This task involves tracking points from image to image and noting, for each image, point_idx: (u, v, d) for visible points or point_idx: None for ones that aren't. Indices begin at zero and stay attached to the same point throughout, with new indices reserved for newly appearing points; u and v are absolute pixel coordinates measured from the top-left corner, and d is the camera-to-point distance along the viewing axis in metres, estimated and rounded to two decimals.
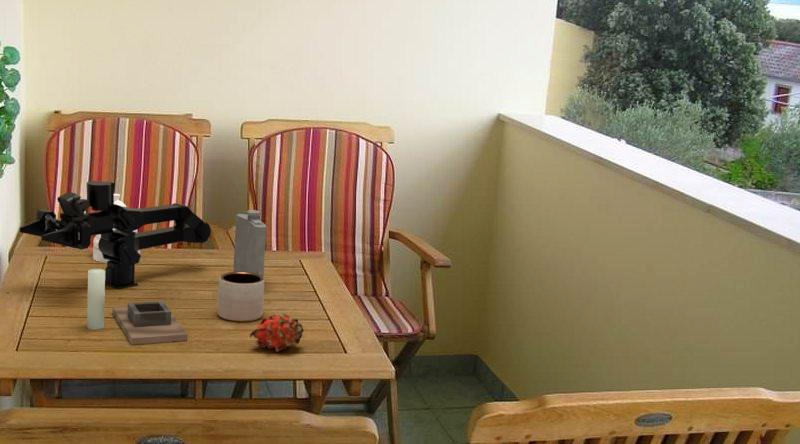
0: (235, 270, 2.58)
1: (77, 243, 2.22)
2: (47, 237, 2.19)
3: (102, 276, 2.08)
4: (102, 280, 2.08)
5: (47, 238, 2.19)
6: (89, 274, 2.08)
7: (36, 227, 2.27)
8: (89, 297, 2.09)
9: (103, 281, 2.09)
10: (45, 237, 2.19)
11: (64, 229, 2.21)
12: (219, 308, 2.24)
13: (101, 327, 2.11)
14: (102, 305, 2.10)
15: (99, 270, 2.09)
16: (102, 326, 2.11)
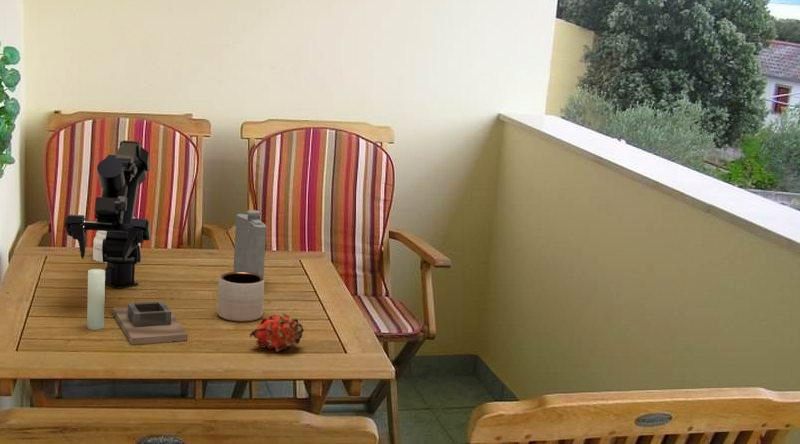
0: (235, 270, 2.58)
1: (143, 238, 2.23)
2: (126, 255, 2.18)
3: (102, 276, 2.08)
4: (102, 280, 2.08)
5: (126, 256, 2.18)
6: (89, 274, 2.08)
7: (84, 241, 2.18)
8: (89, 297, 2.09)
9: (103, 281, 2.09)
10: (125, 257, 2.17)
11: (131, 237, 2.19)
12: (219, 308, 2.24)
13: (101, 327, 2.11)
14: (102, 305, 2.10)
15: (99, 270, 2.09)
16: (102, 326, 2.11)
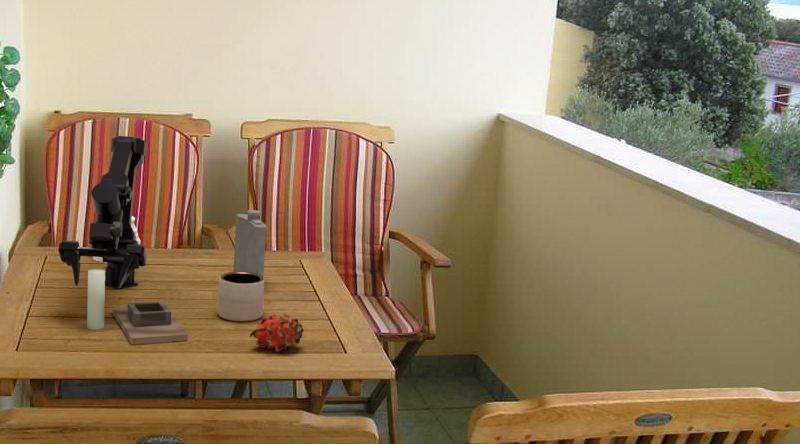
0: (235, 270, 2.58)
1: (138, 264, 2.17)
2: (121, 282, 2.12)
3: (102, 276, 2.08)
4: (102, 280, 2.08)
5: (121, 283, 2.13)
6: (89, 274, 2.08)
7: (78, 268, 2.13)
8: (89, 297, 2.09)
9: (103, 281, 2.09)
10: (120, 284, 2.12)
11: (126, 264, 2.13)
12: (219, 308, 2.24)
13: (101, 327, 2.11)
14: (102, 305, 2.10)
15: (99, 270, 2.09)
16: (102, 326, 2.11)
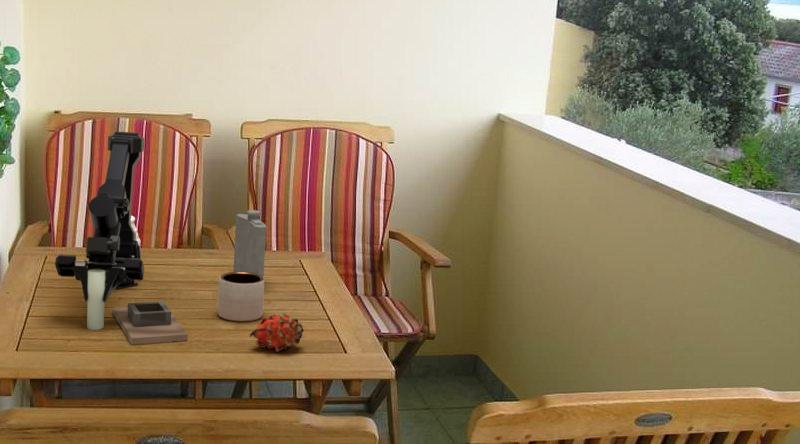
0: (235, 270, 2.58)
1: None
2: (107, 296, 2.10)
3: (102, 276, 2.08)
4: (102, 280, 2.08)
5: (107, 297, 2.10)
6: (89, 274, 2.08)
7: (87, 282, 2.11)
8: (89, 297, 2.09)
9: (103, 281, 2.09)
10: (105, 298, 2.09)
11: (111, 278, 2.11)
12: (219, 308, 2.24)
13: (101, 327, 2.11)
14: (102, 305, 2.10)
15: (99, 270, 2.09)
16: (102, 326, 2.11)
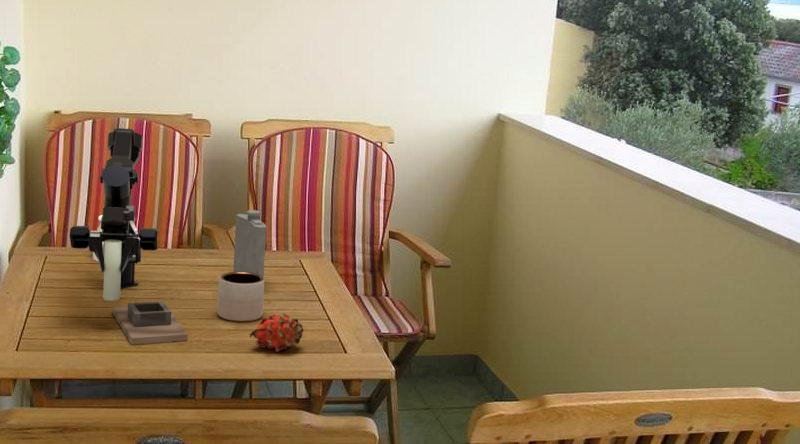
0: (235, 270, 2.58)
1: None
2: (124, 267, 2.09)
3: (119, 247, 2.07)
4: (119, 250, 2.08)
5: (124, 267, 2.09)
6: (106, 244, 2.07)
7: None
8: (106, 268, 2.08)
9: (120, 251, 2.08)
10: (122, 268, 2.09)
11: (128, 248, 2.10)
12: (219, 308, 2.24)
13: (118, 298, 2.10)
14: (119, 275, 2.09)
15: (115, 240, 2.09)
16: (119, 297, 2.10)
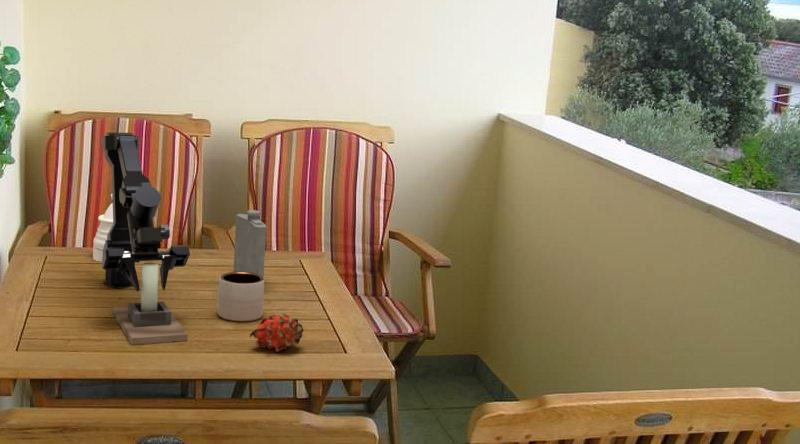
0: (235, 270, 2.58)
1: None
2: (165, 285, 2.14)
3: (157, 269, 2.12)
4: (157, 272, 2.12)
5: None
6: (145, 268, 2.10)
7: None
8: (145, 291, 2.11)
9: None
10: (164, 286, 2.13)
11: (167, 266, 2.15)
12: (219, 308, 2.24)
13: None
14: (157, 297, 2.13)
15: (151, 263, 2.13)
16: None
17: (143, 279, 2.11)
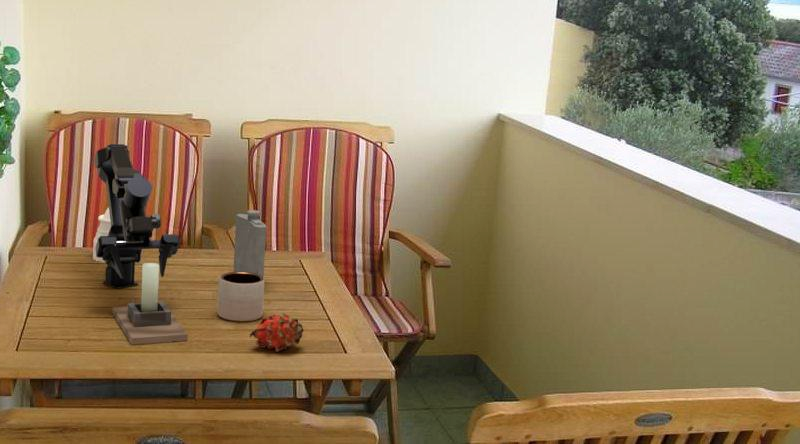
0: (235, 270, 2.58)
1: None
2: None
3: (158, 270, 2.12)
4: (158, 273, 2.12)
5: None
6: (146, 268, 2.10)
7: None
8: (145, 291, 2.11)
9: (158, 274, 2.12)
10: None
11: (165, 254, 2.23)
12: (219, 308, 2.24)
13: None
14: (157, 297, 2.13)
15: (152, 264, 2.13)
16: None
17: (144, 279, 2.11)
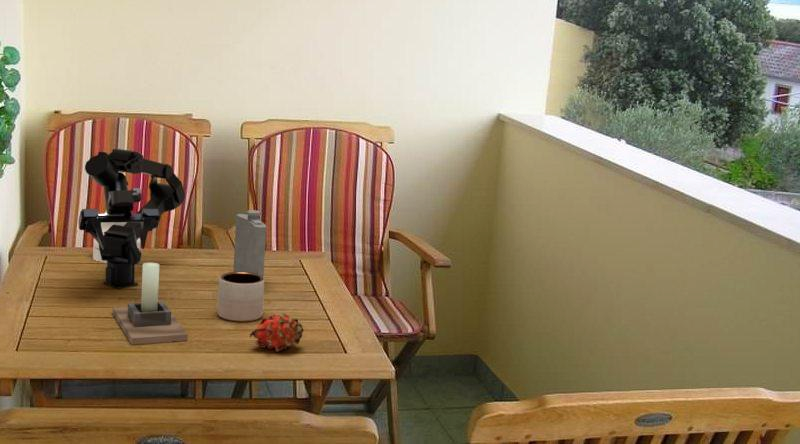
0: (235, 270, 2.58)
1: None
2: None
3: (158, 269, 2.12)
4: (158, 272, 2.12)
5: (144, 244, 2.30)
6: (146, 268, 2.10)
7: None
8: (146, 291, 2.11)
9: (158, 274, 2.13)
10: None
11: (146, 226, 2.31)
12: (219, 308, 2.24)
13: None
14: (157, 297, 2.13)
15: (152, 263, 2.13)
16: None
17: (144, 279, 2.11)
